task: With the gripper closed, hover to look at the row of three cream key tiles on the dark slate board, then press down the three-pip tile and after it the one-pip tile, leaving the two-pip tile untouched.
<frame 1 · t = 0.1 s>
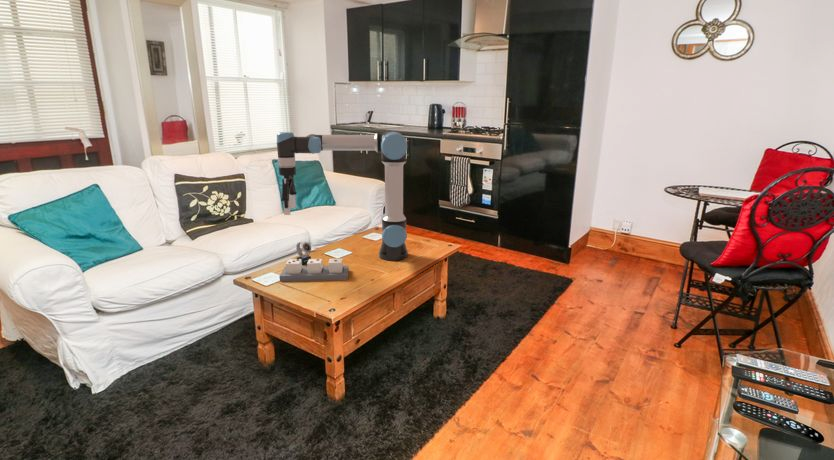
hand: (290, 211, 213), 28 cm above the table, fingers open, 13 cm apart
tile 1: (335, 265, 209), point 5 cm above the table, slide at 0.0 cm
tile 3: (294, 266, 207), point 5 cm above the table, slide at 0.0 cm
watch: (304, 263, 226), on the table
board: (315, 275, 209), on the table
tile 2: (314, 265, 208), point 5 cm above the table, slide at 0.0 cm
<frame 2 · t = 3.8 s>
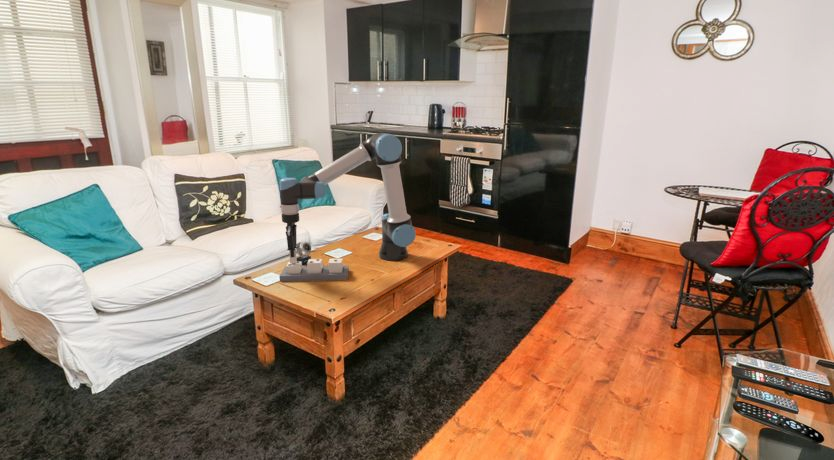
hand: (293, 262, 207), 7 cm above the table, fingers closed
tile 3: (294, 268, 208), point 4 cm above the table, slide at 1.1 cm, touching gripper
everything else where it was.
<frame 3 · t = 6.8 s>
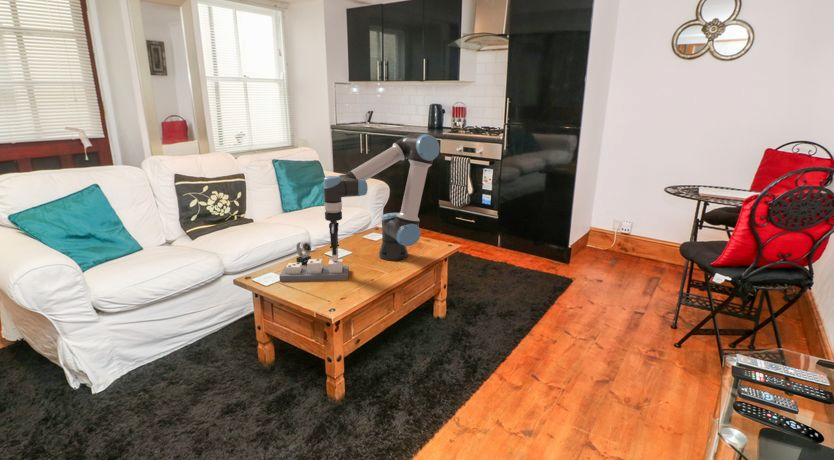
hand: (335, 260, 208), 7 cm above the table, fingers closed
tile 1: (335, 266, 209), point 4 cm above the table, slide at 0.4 cm, touching gripper
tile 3: (294, 269, 208), point 3 cm above the table, slide at 1.7 cm
everything else where it was.
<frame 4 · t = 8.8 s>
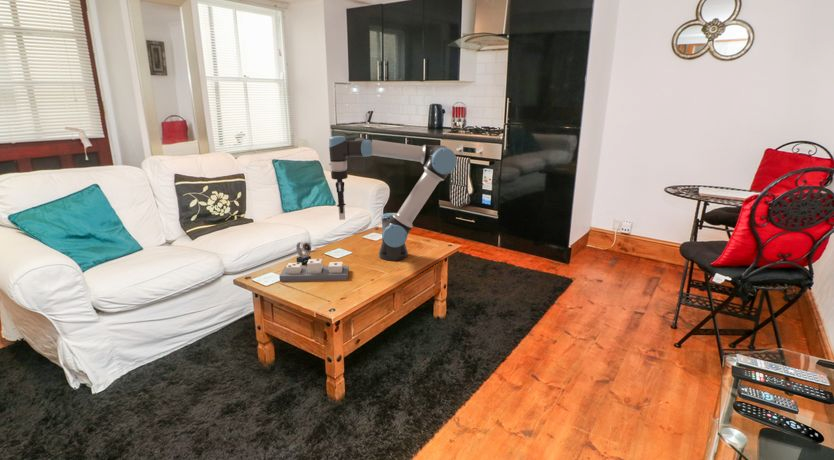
hand: (342, 219, 216), 24 cm above the table, fingers closed
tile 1: (335, 269, 209), point 3 cm above the table, slide at 1.7 cm
everything else where it was.
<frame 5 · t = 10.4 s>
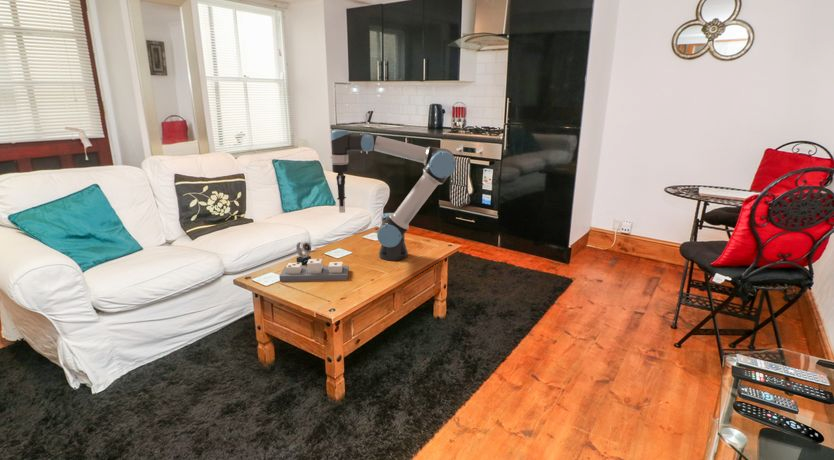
hand: (342, 212, 218), 26 cm above the table, fingers closed
nothing on the table moved.
at the end: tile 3 slide at 1.7 cm; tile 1 slide at 1.7 cm; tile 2 slide at 0.0 cm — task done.
